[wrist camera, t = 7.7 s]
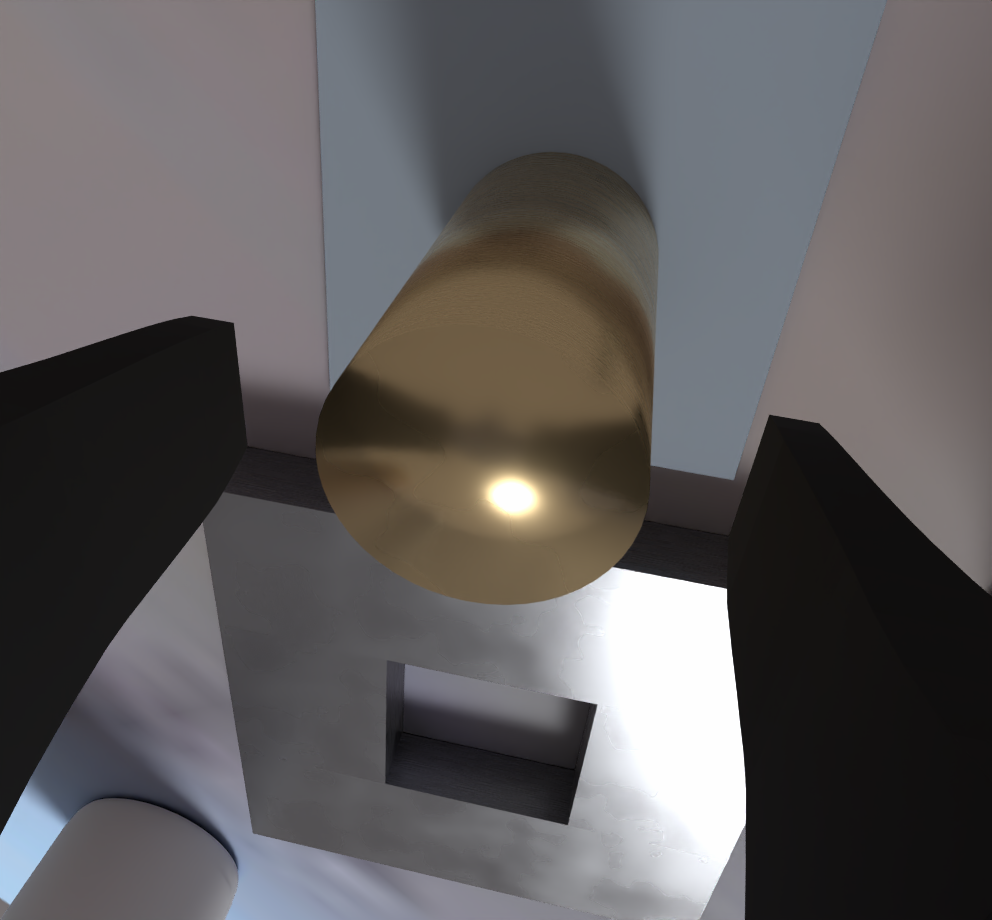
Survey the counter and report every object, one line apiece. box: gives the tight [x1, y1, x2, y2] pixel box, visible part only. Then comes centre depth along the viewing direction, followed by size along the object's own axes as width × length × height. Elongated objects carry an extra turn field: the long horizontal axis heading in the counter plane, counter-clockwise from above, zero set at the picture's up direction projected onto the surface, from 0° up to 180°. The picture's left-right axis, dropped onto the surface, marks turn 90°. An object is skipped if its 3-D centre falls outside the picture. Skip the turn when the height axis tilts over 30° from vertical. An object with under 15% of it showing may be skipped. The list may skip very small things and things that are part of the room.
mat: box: [315, 0, 887, 480], centre depth 17 cm, size 10×10×1 cm
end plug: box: [316, 152, 659, 605], centre depth 14 cm, size 4×4×8 cm
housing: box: [203, 447, 746, 920], centre depth 25 cm, size 16×16×2 cm
